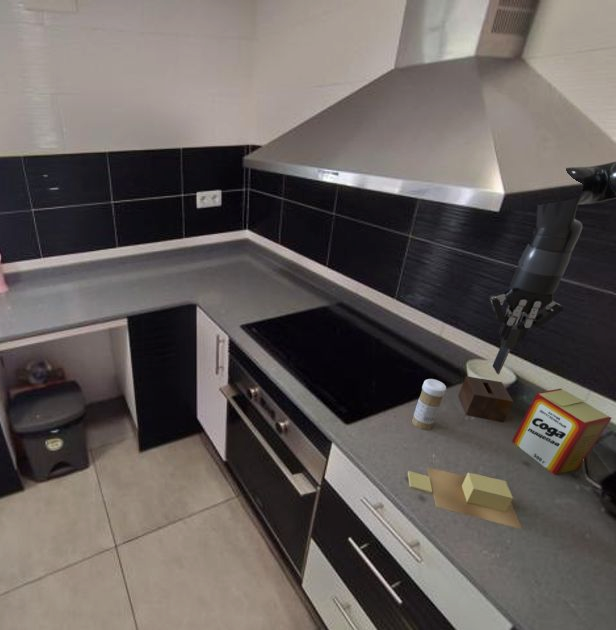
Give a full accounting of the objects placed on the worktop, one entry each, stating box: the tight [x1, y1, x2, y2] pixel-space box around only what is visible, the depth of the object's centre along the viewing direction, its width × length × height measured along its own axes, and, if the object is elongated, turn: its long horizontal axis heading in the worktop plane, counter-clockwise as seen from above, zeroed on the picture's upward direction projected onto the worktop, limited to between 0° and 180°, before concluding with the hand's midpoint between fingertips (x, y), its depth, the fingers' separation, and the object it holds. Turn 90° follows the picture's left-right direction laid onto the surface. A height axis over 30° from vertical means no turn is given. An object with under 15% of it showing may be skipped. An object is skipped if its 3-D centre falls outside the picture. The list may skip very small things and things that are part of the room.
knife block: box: [457, 375, 514, 423], centre depth 97 cm, size 8×8×8 cm
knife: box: [492, 323, 521, 375], centre depth 89 cm, size 2×4×12 cm, turn 161°
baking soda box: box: [511, 387, 612, 476], centre depth 81 cm, size 10×6×16 cm
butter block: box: [462, 472, 514, 512], centre depth 74 cm, size 6×4×4 cm, turn 71°
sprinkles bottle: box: [411, 378, 447, 431], centre depth 91 cm, size 5×5×13 cm
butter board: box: [426, 466, 523, 530], centre depth 76 cm, size 14×10×1 cm
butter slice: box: [407, 470, 433, 494], centre depth 78 cm, size 2×4×4 cm
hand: (509, 338), depth 88 cm, fingers closed on knife, 2 cm apart
